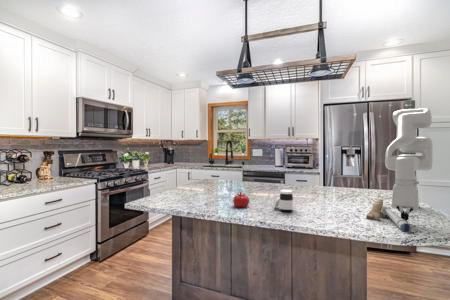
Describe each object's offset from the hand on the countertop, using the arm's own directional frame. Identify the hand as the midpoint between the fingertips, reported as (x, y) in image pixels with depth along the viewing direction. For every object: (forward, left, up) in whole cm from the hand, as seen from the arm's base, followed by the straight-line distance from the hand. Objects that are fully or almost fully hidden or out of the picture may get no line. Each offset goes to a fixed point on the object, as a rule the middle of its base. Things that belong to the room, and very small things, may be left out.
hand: (404, 220), depth 115 cm
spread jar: (+14, -57, -2) cm, 58 cm away
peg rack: (-5, -13, -1) cm, 14 cm away
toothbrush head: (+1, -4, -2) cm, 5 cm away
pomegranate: (+23, -81, -2) cm, 84 cm away
